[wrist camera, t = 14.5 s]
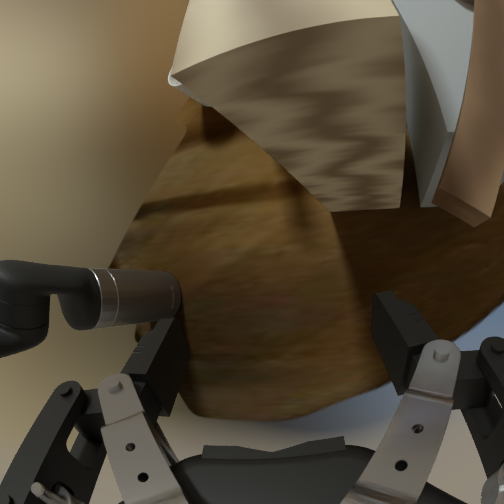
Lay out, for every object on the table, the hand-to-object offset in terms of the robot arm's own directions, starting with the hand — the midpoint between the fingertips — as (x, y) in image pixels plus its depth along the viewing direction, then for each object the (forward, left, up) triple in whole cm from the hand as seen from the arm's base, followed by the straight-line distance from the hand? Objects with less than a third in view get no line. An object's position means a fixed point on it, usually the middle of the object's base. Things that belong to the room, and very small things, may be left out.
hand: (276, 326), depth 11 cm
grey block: (+14, +20, -29) cm, 37 cm away
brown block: (+15, +18, -7) cm, 24 cm away
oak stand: (+1, +20, -29) cm, 35 cm away
